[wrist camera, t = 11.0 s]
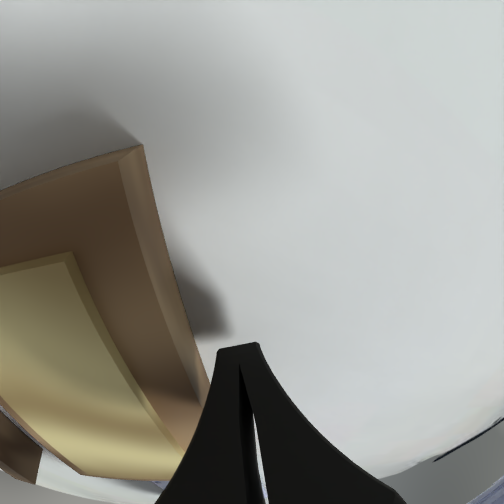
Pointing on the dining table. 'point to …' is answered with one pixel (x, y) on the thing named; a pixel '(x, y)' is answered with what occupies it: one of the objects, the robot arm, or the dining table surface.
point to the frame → (96, 321)
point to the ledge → (18, 452)
